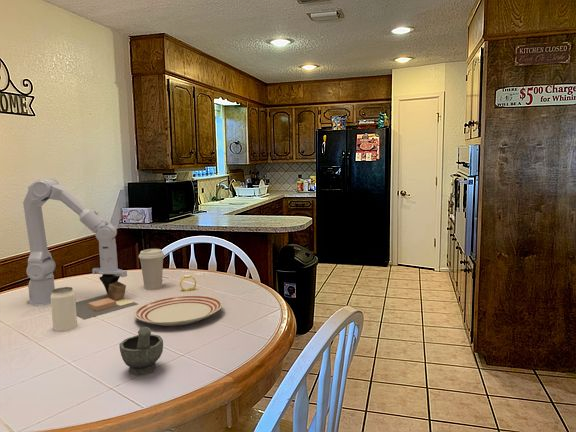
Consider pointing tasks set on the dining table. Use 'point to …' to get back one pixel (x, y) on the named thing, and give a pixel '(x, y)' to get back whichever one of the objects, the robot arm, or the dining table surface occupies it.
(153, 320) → the dinner plate
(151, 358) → the mortar and pestle
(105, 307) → the tile
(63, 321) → the can
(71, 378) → the dining table surface
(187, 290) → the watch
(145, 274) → the coffee cup
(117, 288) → the block
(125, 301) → the mat
